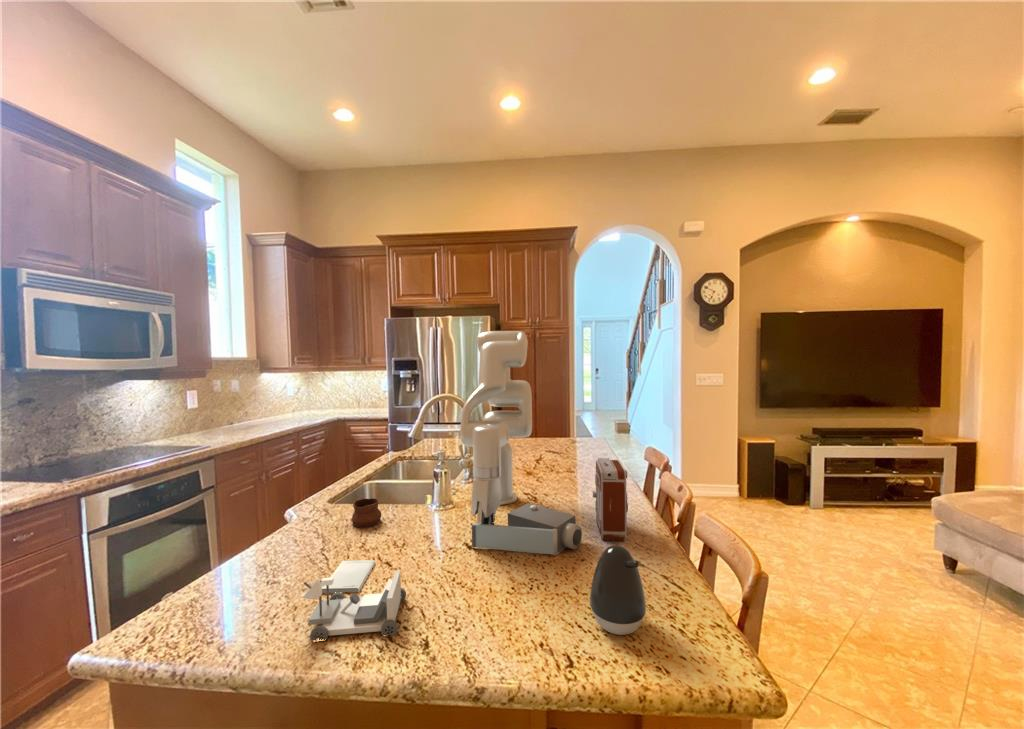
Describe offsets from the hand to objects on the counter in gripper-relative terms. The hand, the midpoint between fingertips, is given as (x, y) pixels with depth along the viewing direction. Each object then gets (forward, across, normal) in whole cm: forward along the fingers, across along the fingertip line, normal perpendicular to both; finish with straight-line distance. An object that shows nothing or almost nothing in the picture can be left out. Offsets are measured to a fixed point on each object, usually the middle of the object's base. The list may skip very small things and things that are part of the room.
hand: (488, 537), depth 113 cm
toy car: (+2, +39, -11) cm, 40 cm away
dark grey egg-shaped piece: (+2, +23, +37) cm, 44 cm away
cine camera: (+2, -21, +30) cm, 36 cm away
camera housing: (+2, -7, +15) cm, 16 cm away
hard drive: (+2, +27, -23) cm, 36 cm away
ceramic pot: (+2, 0, -41) cm, 41 cm away
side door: (+1, +2, +8) cm, 9 cm away
